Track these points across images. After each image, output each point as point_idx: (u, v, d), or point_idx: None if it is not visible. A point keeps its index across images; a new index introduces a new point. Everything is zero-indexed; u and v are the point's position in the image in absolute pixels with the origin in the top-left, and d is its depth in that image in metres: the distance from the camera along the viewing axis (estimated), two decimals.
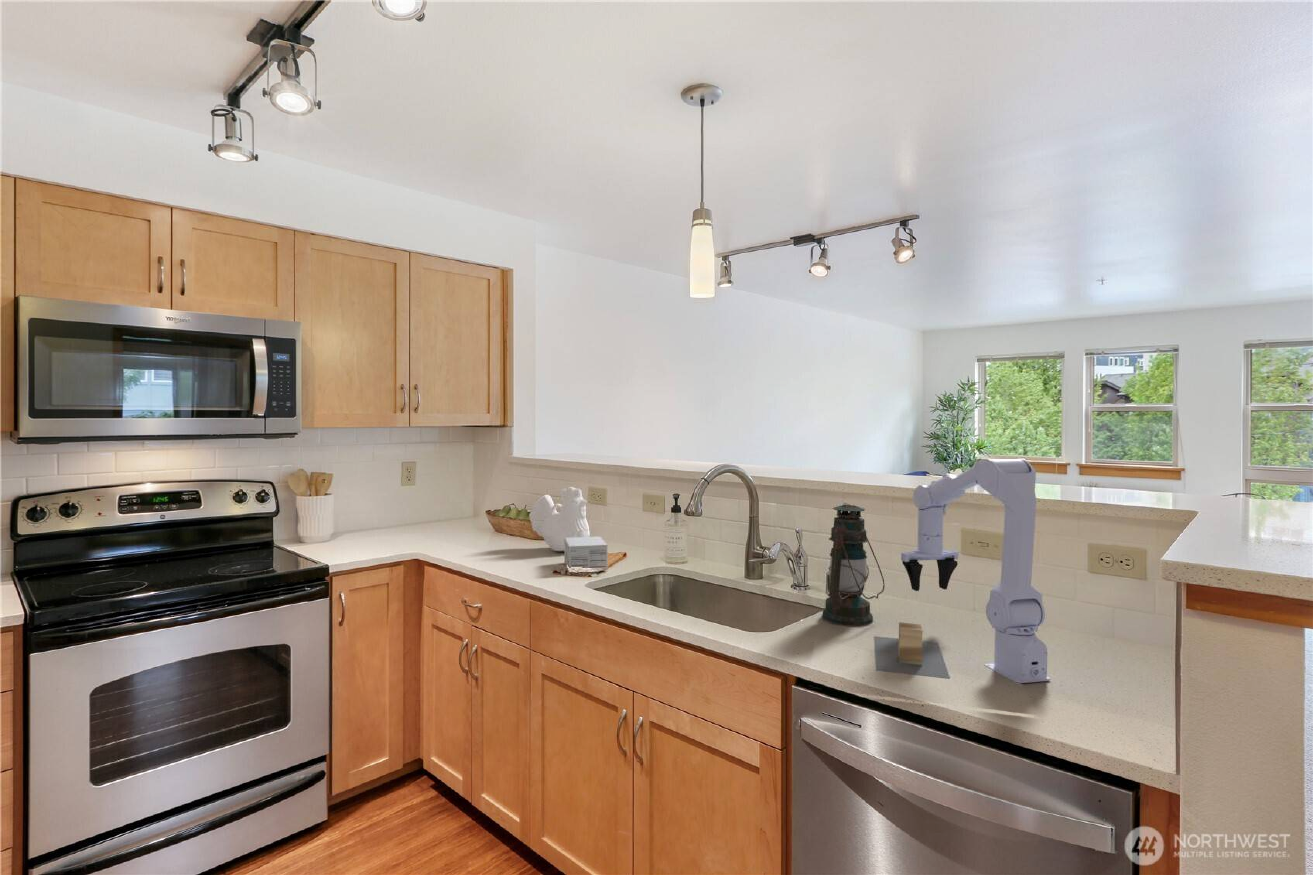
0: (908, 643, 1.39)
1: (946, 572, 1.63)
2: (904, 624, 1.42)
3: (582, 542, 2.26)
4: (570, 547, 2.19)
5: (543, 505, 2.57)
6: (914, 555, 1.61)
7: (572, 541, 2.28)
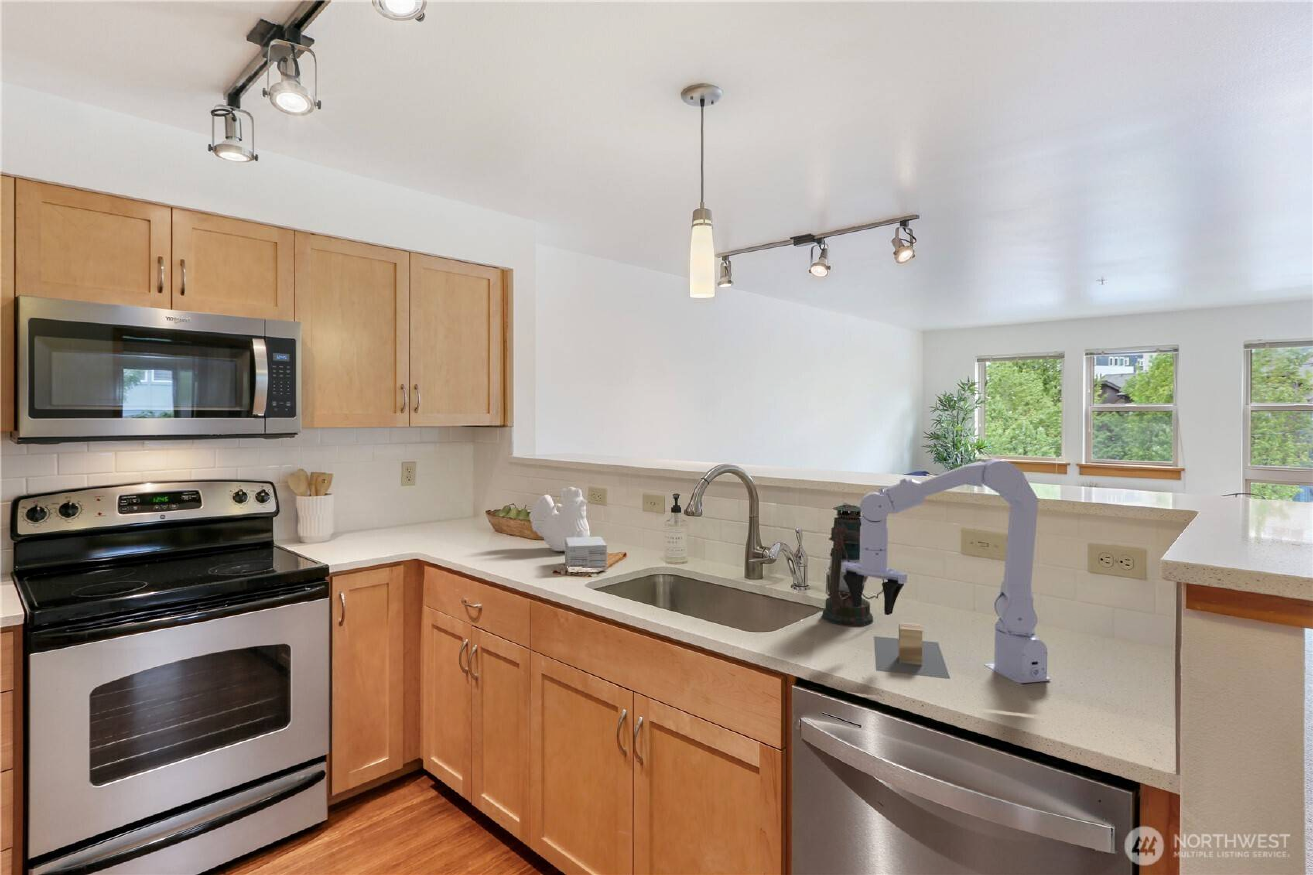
0: (908, 643, 1.39)
1: None
2: (904, 624, 1.42)
3: (582, 542, 2.26)
4: (569, 547, 2.20)
5: (543, 505, 2.57)
6: (848, 566, 1.47)
7: (572, 541, 2.28)
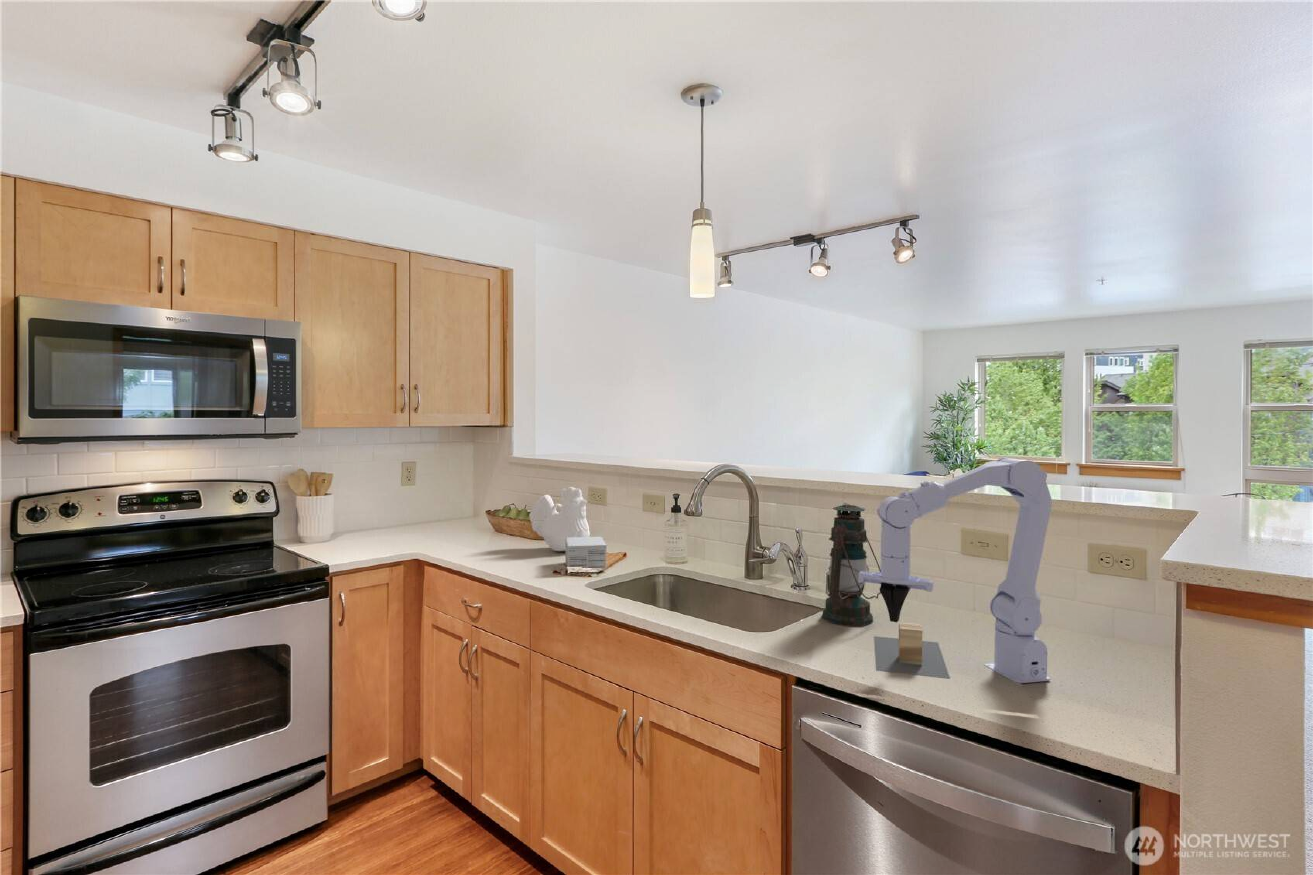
0: (908, 643, 1.39)
1: (894, 601, 1.36)
2: (904, 624, 1.42)
3: (582, 542, 2.26)
4: (569, 547, 2.20)
5: (543, 505, 2.57)
6: (868, 576, 1.39)
7: (572, 541, 2.28)
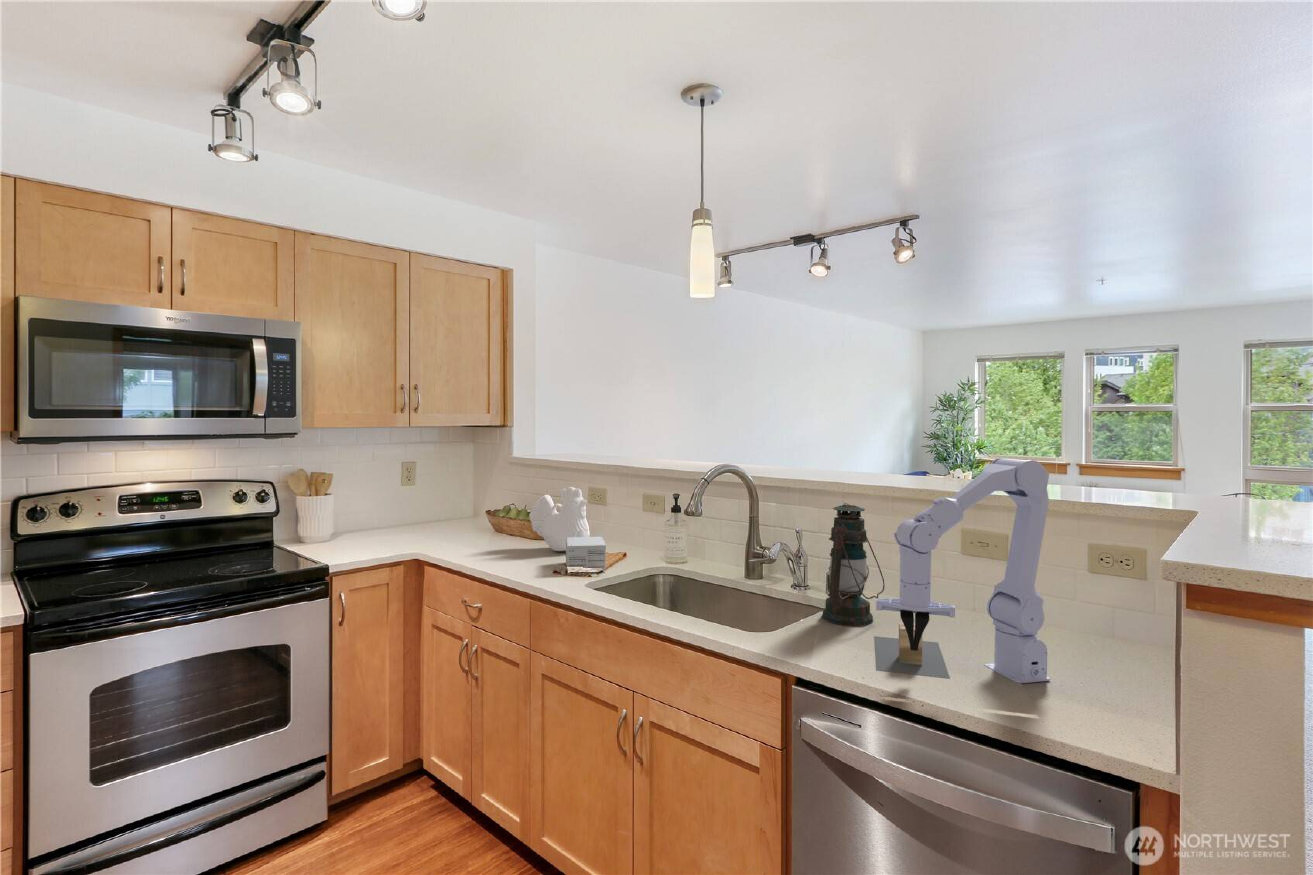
0: (908, 643, 1.39)
1: (915, 629, 1.31)
2: None
3: (581, 542, 2.26)
4: (568, 547, 2.20)
5: (543, 505, 2.57)
6: (887, 604, 1.32)
7: (572, 541, 2.28)
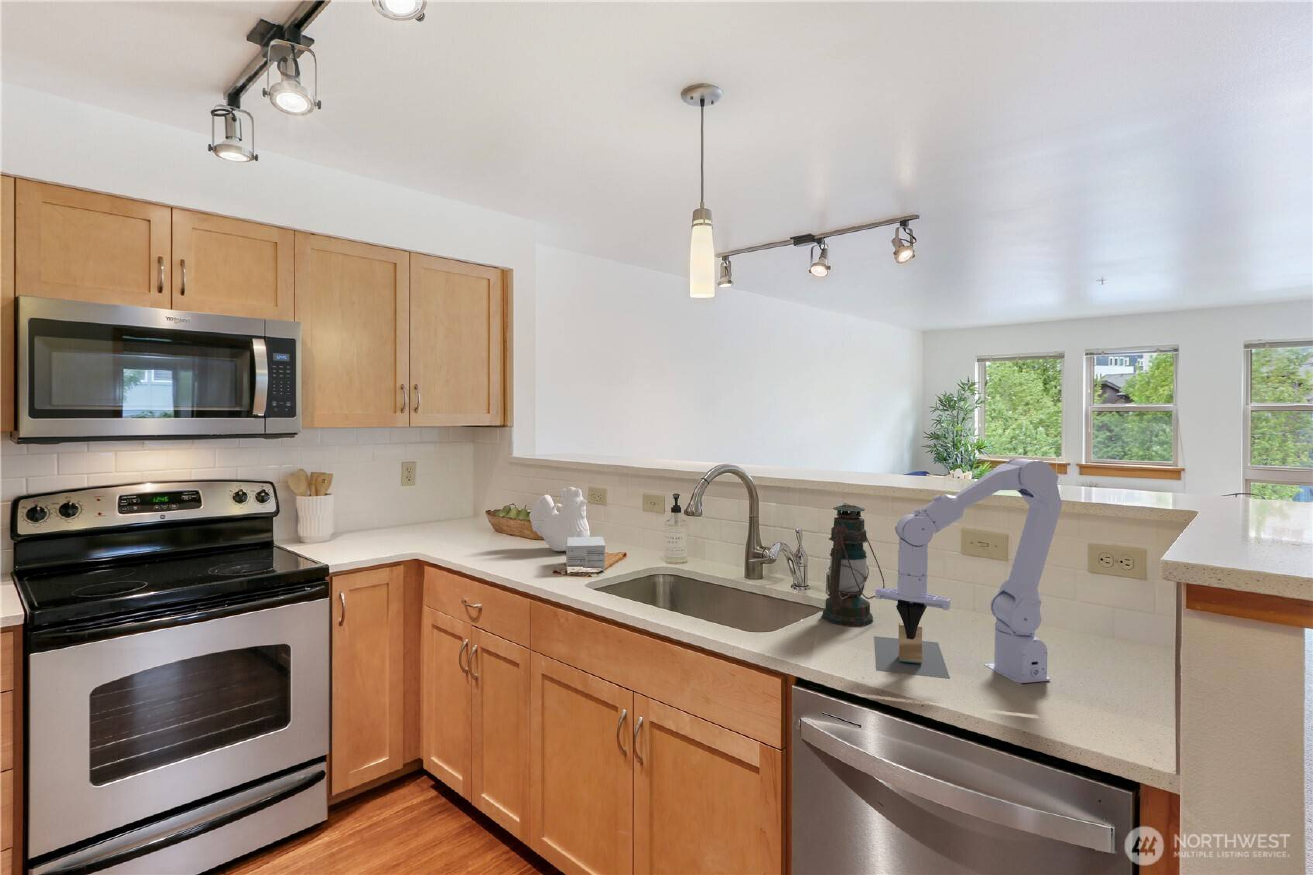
0: (908, 640, 1.40)
1: None
2: None
3: (581, 542, 2.26)
4: (567, 547, 2.20)
5: (543, 505, 2.57)
6: (884, 593, 1.40)
7: (572, 541, 2.29)
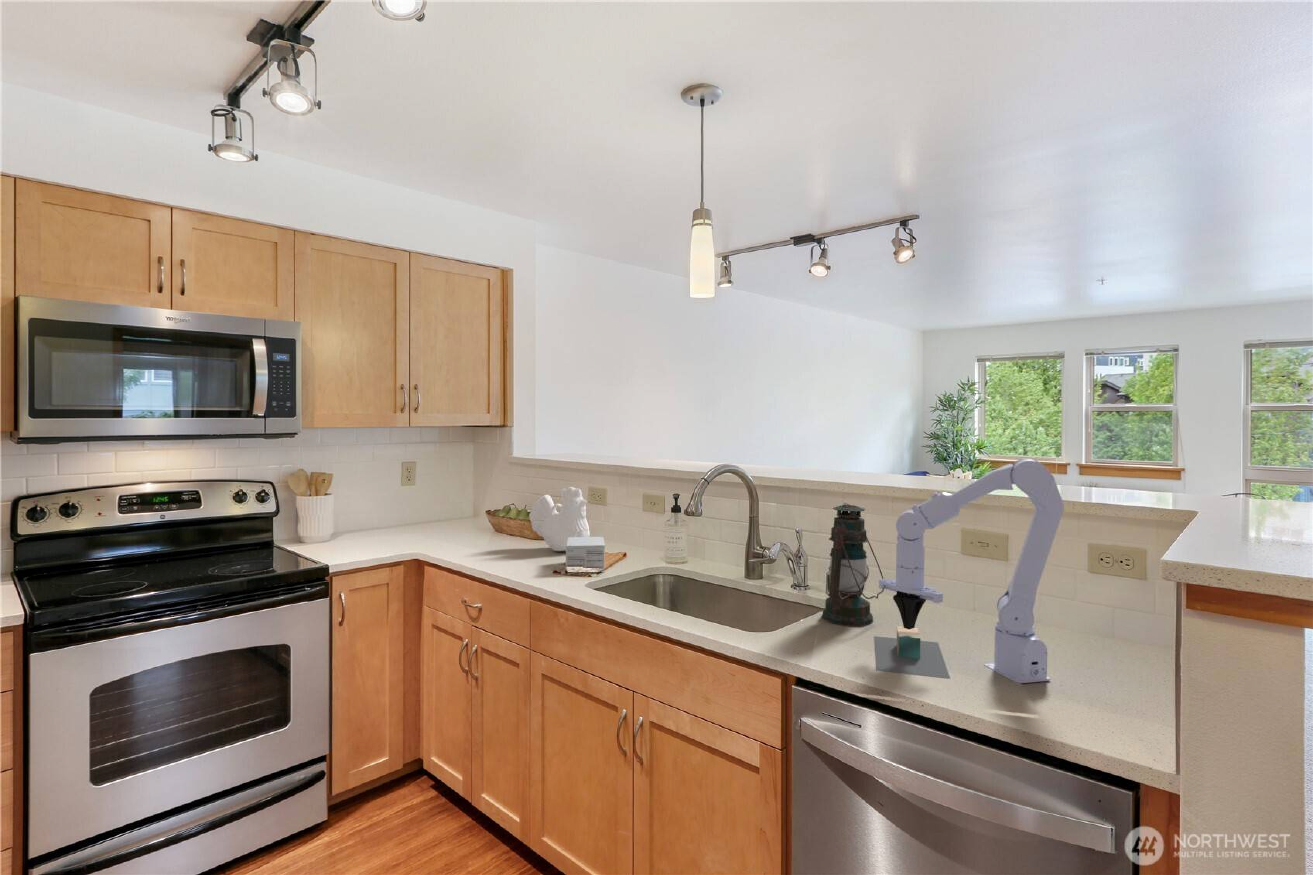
0: (905, 630, 1.48)
1: None
2: None
3: (581, 542, 2.26)
4: (567, 547, 2.20)
5: (543, 505, 2.57)
6: (885, 583, 1.48)
7: (572, 541, 2.29)
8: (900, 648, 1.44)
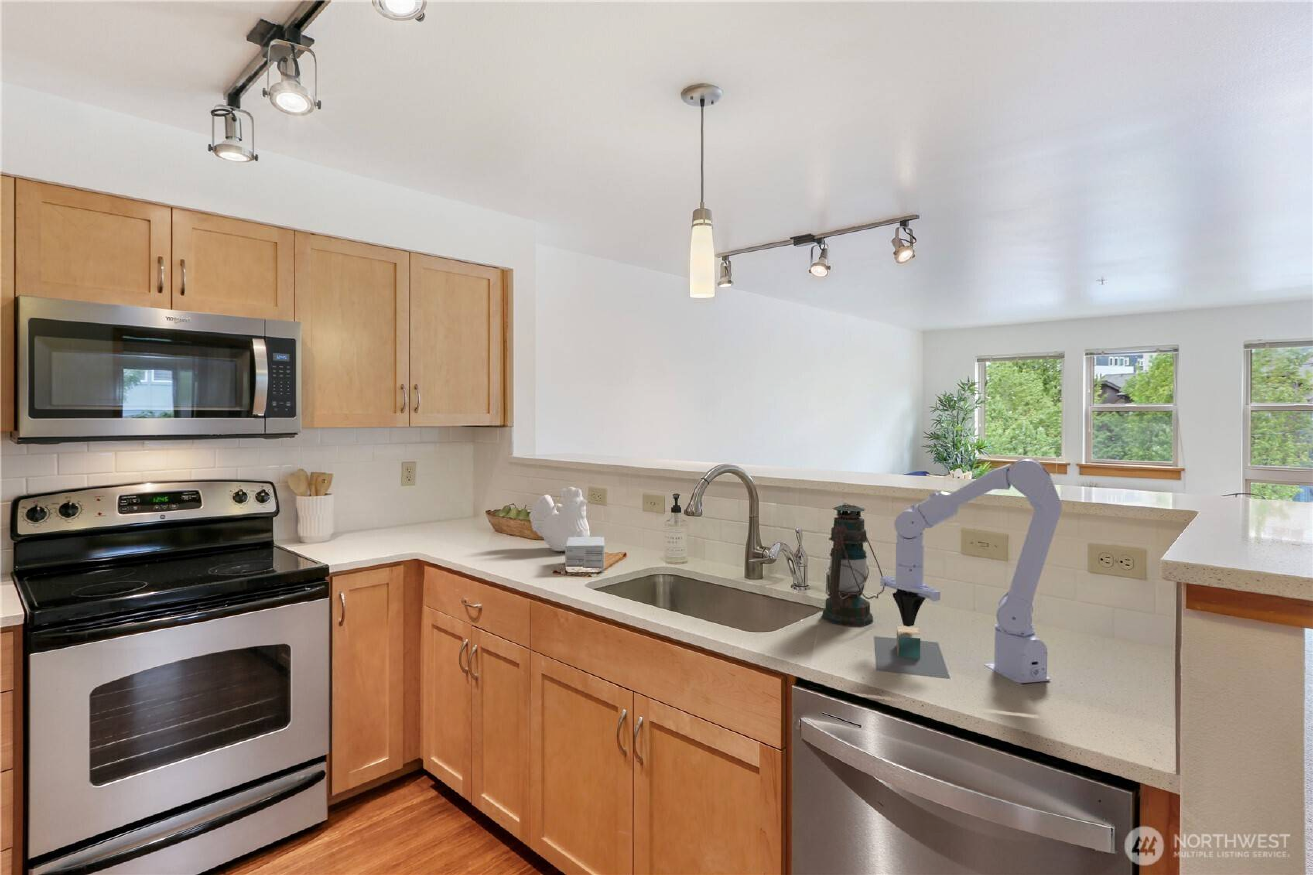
0: (905, 630, 1.48)
1: None
2: None
3: (581, 542, 2.26)
4: (566, 547, 2.20)
5: (543, 505, 2.57)
6: (886, 581, 1.51)
7: (572, 541, 2.29)
8: (900, 648, 1.44)
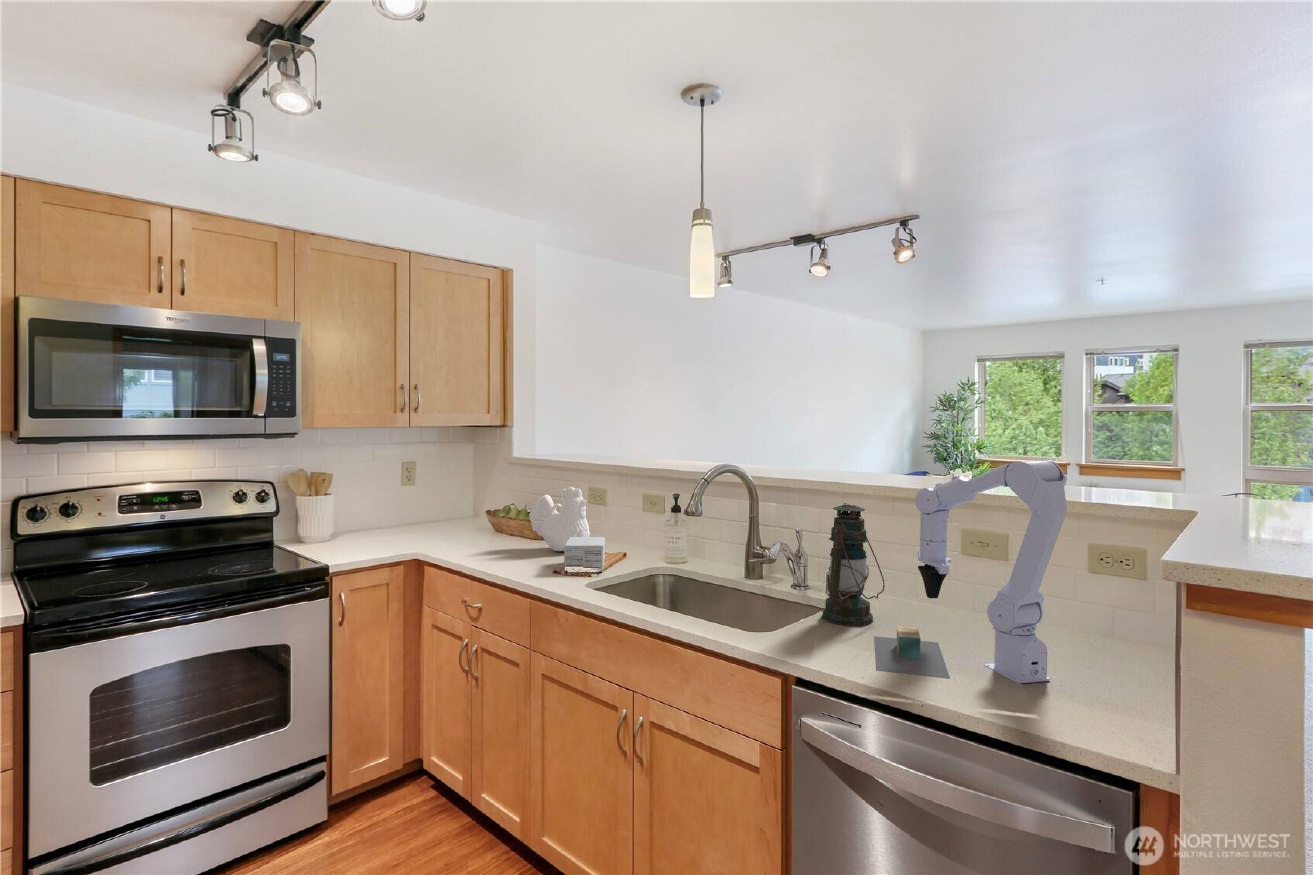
0: (905, 630, 1.48)
1: None
2: None
3: (580, 542, 2.26)
4: (565, 546, 2.20)
5: (543, 505, 2.57)
6: (919, 555, 1.60)
7: (572, 541, 2.29)
8: (900, 648, 1.44)
